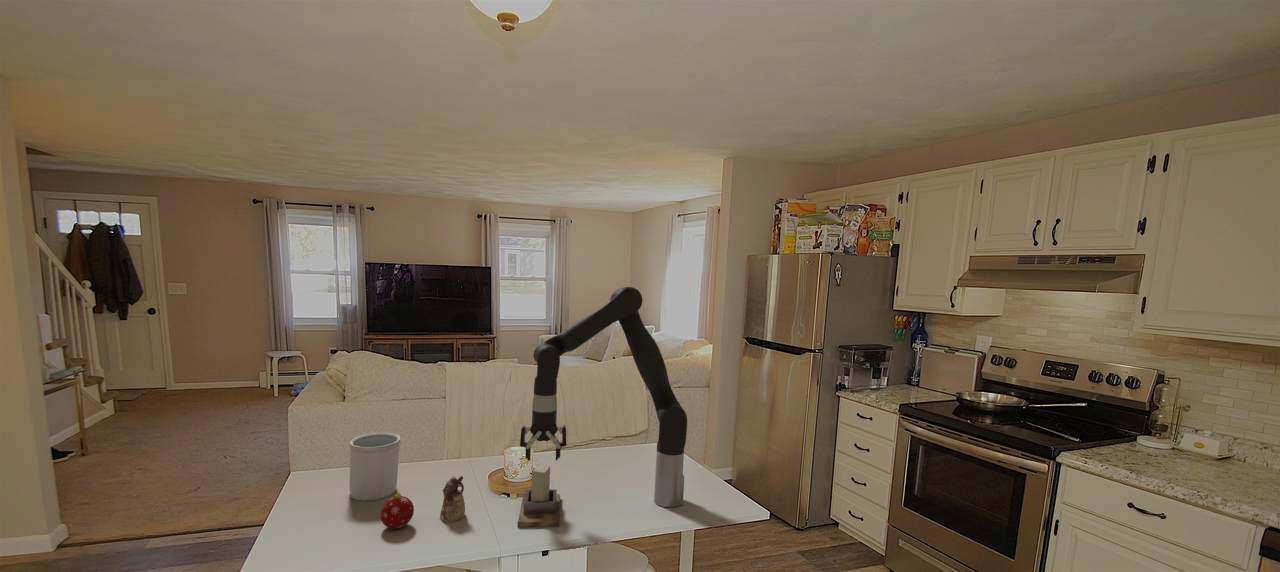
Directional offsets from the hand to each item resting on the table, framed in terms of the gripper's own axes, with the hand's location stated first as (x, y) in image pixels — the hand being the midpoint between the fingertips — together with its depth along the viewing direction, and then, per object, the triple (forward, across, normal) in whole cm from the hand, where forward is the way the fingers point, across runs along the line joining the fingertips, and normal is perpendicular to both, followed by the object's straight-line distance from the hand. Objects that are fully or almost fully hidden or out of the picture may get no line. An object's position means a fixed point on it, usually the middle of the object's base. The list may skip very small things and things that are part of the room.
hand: (542, 459), depth 158 cm
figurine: (+16, +26, +2) cm, 31 cm away
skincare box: (+15, 0, 0) cm, 15 cm away
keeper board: (+17, 0, 0) cm, 17 cm away
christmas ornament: (+16, +40, +8) cm, 44 cm away
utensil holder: (+16, +55, -16) cm, 60 cm away
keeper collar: (+15, 0, 0) cm, 15 cm away
